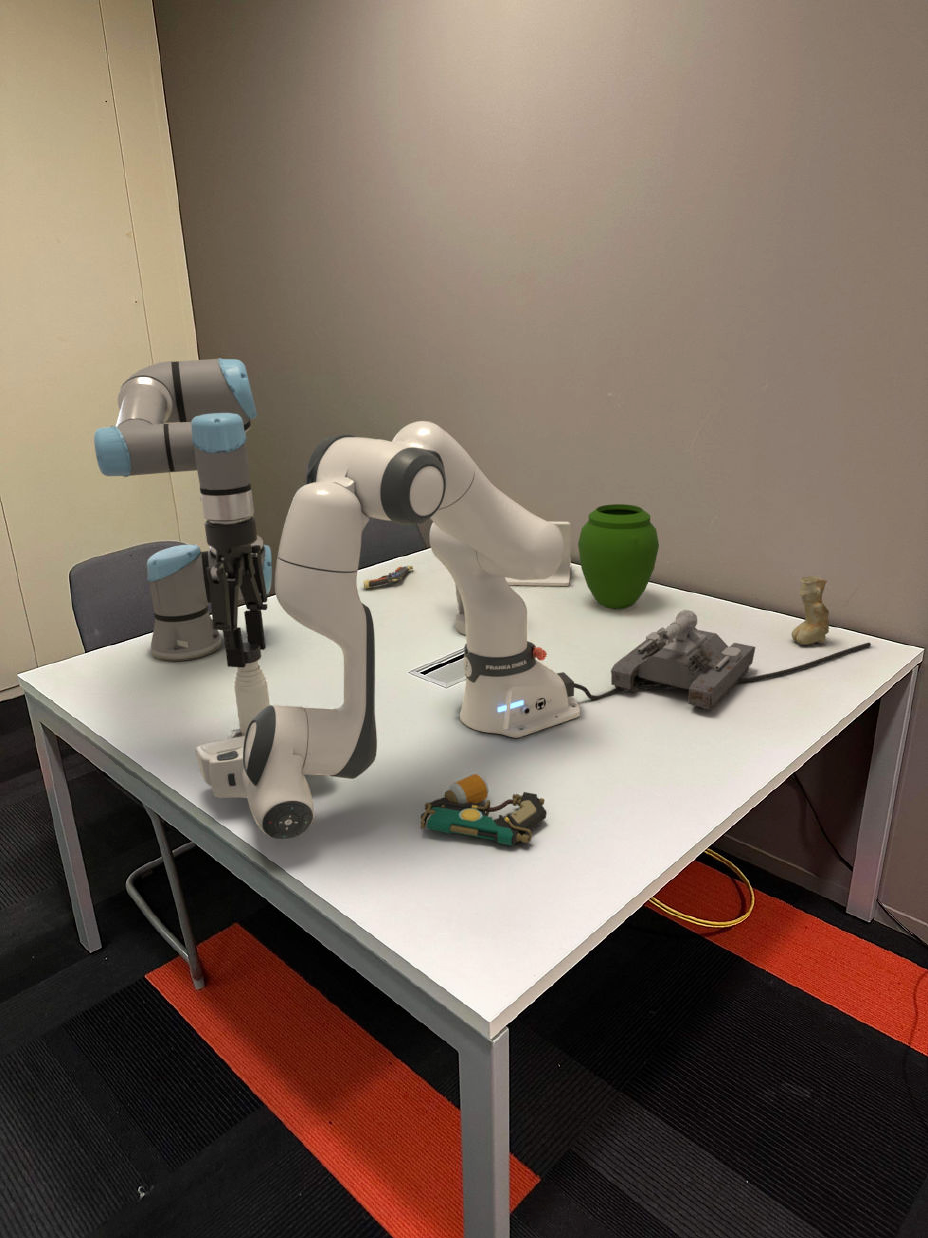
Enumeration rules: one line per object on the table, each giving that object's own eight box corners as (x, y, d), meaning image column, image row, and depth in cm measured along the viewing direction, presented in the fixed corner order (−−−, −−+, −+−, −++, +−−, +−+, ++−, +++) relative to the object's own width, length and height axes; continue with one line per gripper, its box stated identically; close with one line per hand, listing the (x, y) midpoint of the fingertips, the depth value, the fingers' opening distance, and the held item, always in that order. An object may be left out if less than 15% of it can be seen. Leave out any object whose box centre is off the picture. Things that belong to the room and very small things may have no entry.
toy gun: (360, 581, 230) (396, 578, 228) (380, 565, 248) (413, 562, 246) (362, 591, 231) (397, 588, 228) (381, 574, 248) (414, 571, 246)
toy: (661, 649, 187) (665, 584, 181) (753, 669, 176) (760, 600, 170) (609, 692, 167) (612, 620, 162) (708, 717, 156) (715, 641, 151)
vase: (599, 587, 227) (601, 497, 218) (668, 600, 216) (673, 505, 208) (562, 608, 212) (564, 513, 204) (634, 623, 202) (639, 523, 193)
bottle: (264, 775, 142) (250, 660, 135) (239, 769, 144) (223, 655, 136) (282, 760, 146) (269, 648, 139) (257, 755, 148) (243, 644, 141)
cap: (264, 660, 137) (263, 649, 137) (236, 666, 135) (235, 654, 135) (257, 651, 141) (256, 640, 140) (230, 656, 139) (229, 645, 138)
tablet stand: (569, 585, 229) (570, 524, 223) (476, 584, 232) (475, 523, 226) (570, 566, 246) (571, 508, 240) (484, 564, 249) (483, 507, 243)
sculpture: (787, 638, 190) (794, 574, 185) (818, 636, 191) (826, 572, 186) (799, 648, 185) (807, 582, 180) (831, 646, 186) (840, 580, 180)
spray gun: (557, 816, 129) (509, 874, 118) (464, 782, 137) (410, 832, 126) (559, 793, 127) (509, 849, 116) (464, 759, 135) (409, 808, 124)
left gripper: (236, 503, 140) (253, 633, 148) (173, 534, 122) (195, 680, 130) (279, 504, 138) (293, 636, 146) (220, 535, 120) (240, 684, 128)
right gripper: (333, 736, 134) (315, 701, 146) (199, 763, 127) (191, 724, 139) (337, 771, 136) (318, 733, 148) (204, 800, 129) (196, 758, 141)
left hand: (247, 656), depth 138 cm, fingers open, 7 cm apart
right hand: (255, 729), depth 144 cm, fingers closed on bottle, 5 cm apart
